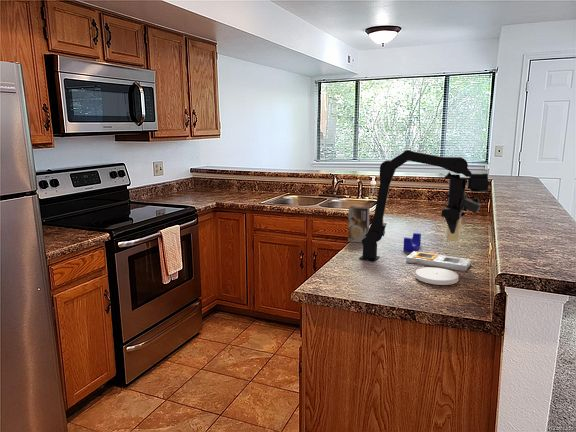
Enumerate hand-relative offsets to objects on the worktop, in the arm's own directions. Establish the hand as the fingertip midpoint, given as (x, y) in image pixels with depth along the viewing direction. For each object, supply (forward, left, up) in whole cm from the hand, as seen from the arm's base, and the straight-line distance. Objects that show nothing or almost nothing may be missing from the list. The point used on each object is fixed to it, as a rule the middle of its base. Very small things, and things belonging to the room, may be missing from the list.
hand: (453, 232), depth 163 cm
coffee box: (+17, +45, -13) cm, 50 cm away
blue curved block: (+16, +19, -13) cm, 28 cm away
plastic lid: (-20, +1, -14) cm, 24 cm away
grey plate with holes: (0, +5, -13) cm, 14 cm away
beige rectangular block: (0, 0, -3) cm, 3 cm away
